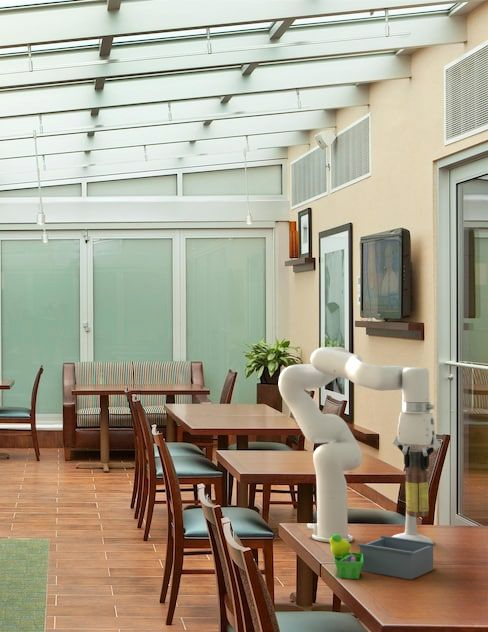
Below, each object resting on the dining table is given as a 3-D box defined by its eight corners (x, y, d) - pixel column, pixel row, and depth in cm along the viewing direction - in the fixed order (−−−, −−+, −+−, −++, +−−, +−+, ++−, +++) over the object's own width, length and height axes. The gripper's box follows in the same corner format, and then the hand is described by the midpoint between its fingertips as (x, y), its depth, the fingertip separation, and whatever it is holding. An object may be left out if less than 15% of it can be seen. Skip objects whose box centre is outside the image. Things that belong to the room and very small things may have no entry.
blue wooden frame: (358, 570, 275) (357, 543, 275) (382, 560, 286) (382, 535, 286) (411, 580, 264) (411, 552, 264) (435, 569, 275) (434, 543, 275)
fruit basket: (363, 580, 263) (363, 539, 263) (329, 578, 266) (329, 537, 267) (362, 571, 274) (362, 531, 274) (330, 568, 277) (329, 529, 277)
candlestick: (437, 547, 304) (436, 452, 304) (394, 545, 306) (393, 451, 307) (427, 538, 316) (426, 447, 317) (386, 537, 319) (385, 446, 319)
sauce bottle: (427, 514, 292) (428, 449, 292) (429, 518, 287) (430, 452, 286) (404, 513, 295) (405, 448, 295) (405, 516, 289) (406, 451, 289)
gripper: (449, 408, 288) (450, 469, 287) (393, 405, 300) (394, 464, 299) (439, 410, 282) (440, 472, 282) (383, 407, 294) (383, 466, 294)
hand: (416, 467), depth 291 cm, fingers closed on sauce bottle, 4 cm apart
